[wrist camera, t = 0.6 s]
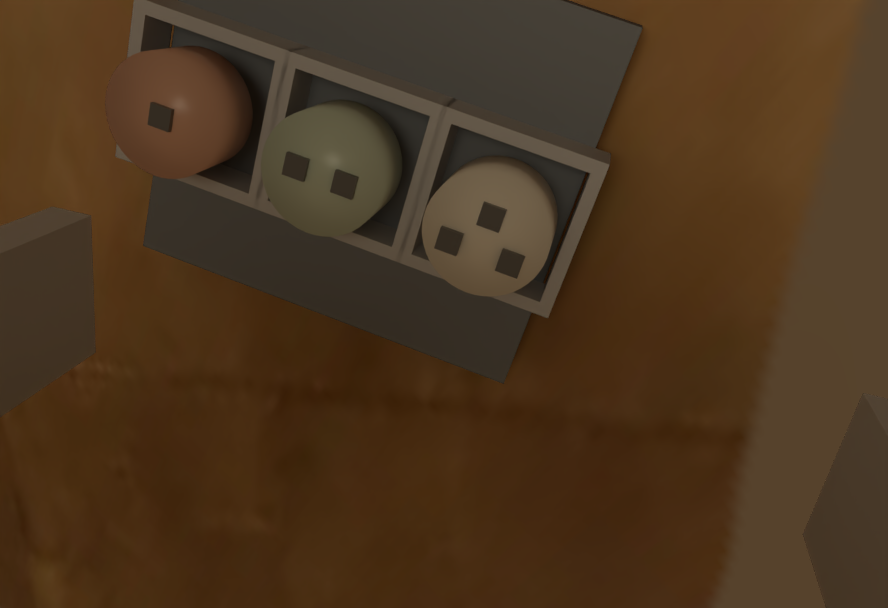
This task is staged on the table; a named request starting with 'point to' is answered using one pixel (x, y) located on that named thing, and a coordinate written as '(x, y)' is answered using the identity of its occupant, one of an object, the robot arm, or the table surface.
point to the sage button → (331, 167)
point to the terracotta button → (178, 110)
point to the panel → (421, 142)
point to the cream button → (490, 226)
